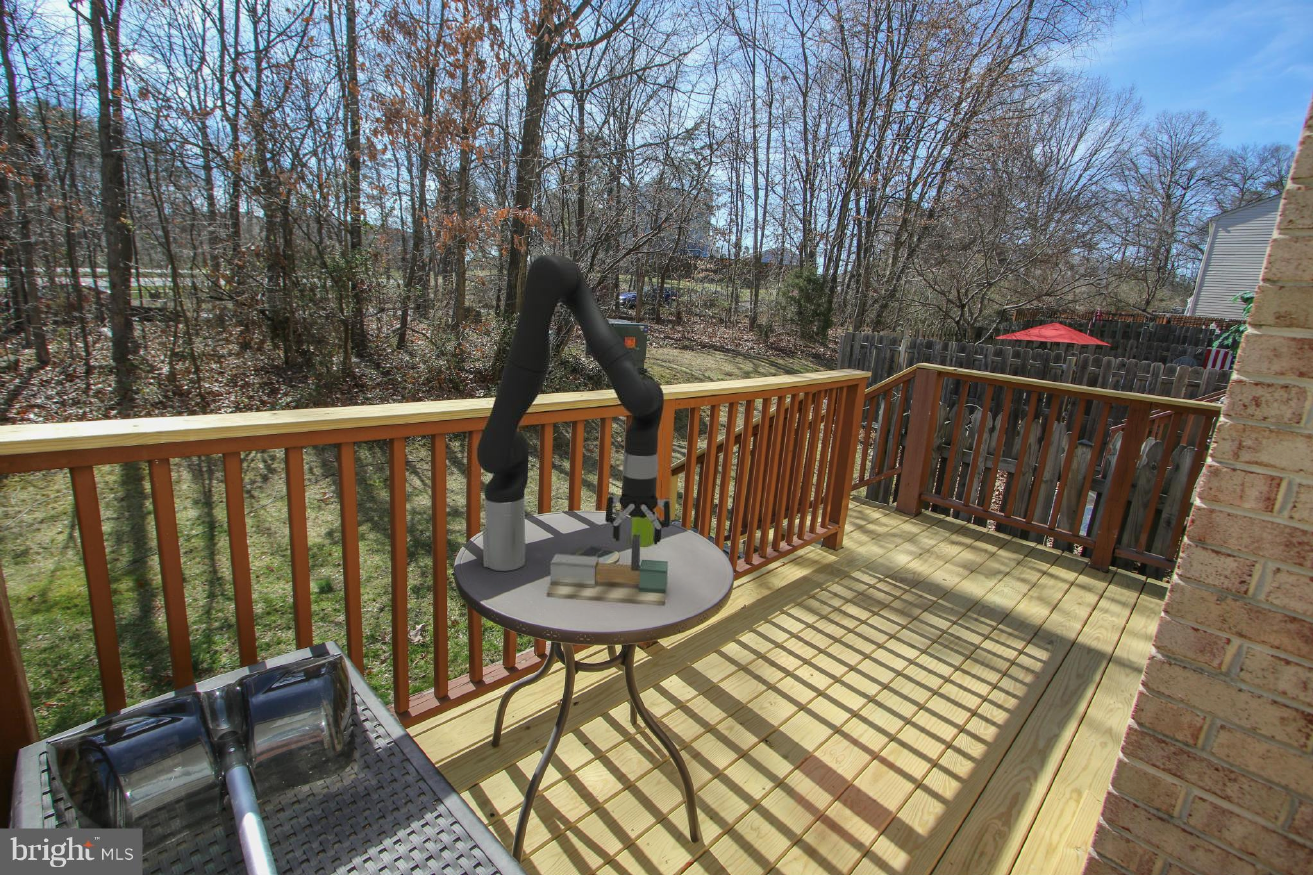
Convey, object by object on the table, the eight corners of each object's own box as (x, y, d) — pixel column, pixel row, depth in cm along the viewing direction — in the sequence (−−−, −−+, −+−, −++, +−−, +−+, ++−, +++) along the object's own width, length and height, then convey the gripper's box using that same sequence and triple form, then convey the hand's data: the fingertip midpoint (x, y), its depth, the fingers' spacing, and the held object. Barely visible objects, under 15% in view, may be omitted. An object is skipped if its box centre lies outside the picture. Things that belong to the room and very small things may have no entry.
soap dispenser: (637, 549, 161) (640, 477, 157) (628, 539, 168) (630, 469, 163) (657, 546, 164) (660, 475, 159) (647, 537, 170) (650, 468, 165)
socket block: (638, 591, 137) (639, 569, 135) (640, 581, 141) (641, 559, 140) (665, 593, 136) (666, 570, 135) (666, 583, 141) (667, 561, 140)
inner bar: (575, 578, 138) (576, 535, 136) (578, 573, 141) (578, 530, 139) (655, 584, 137) (656, 540, 135) (656, 578, 140) (657, 535, 138)
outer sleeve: (550, 585, 138) (550, 562, 137) (555, 575, 143) (555, 553, 142) (594, 588, 137) (594, 565, 136) (598, 578, 142) (598, 556, 141)
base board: (546, 596, 135) (546, 592, 135) (559, 572, 146) (559, 568, 146) (664, 605, 133) (664, 601, 133) (667, 580, 145) (667, 576, 144)
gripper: (604, 475, 130) (602, 546, 134) (671, 479, 129) (667, 551, 133) (610, 465, 137) (607, 532, 141) (673, 469, 136) (669, 537, 140)
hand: (636, 541), depth 137 cm, fingers open, 8 cm apart
